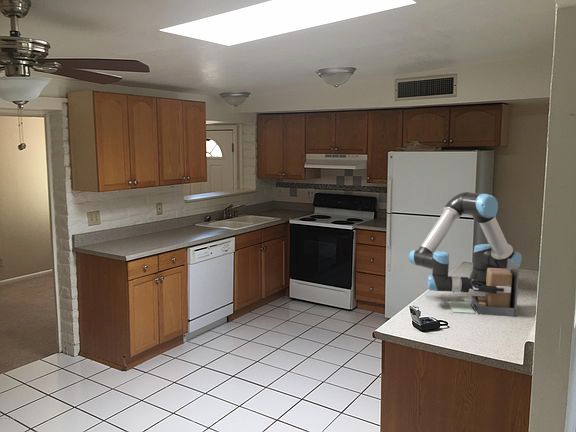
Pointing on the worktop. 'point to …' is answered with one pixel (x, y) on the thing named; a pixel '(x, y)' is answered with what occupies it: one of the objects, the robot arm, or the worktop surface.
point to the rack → (513, 302)
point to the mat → (461, 307)
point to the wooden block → (498, 279)
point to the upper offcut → (481, 301)
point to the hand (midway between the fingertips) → (507, 286)
